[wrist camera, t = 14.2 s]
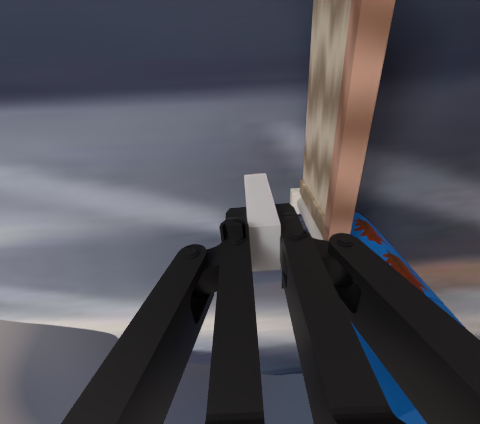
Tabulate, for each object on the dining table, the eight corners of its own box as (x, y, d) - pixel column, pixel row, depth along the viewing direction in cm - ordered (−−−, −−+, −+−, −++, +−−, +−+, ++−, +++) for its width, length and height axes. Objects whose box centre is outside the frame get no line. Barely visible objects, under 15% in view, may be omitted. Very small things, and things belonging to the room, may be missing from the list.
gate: (311, -41, 22) (382, -147, 11) (333, -43, 22) (424, -153, 11) (299, 192, 34) (327, 246, 23) (313, 191, 34) (347, 245, 23)
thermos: (380, 213, 38) (572, 399, 16) (352, 262, 43) (468, 451, 22) (316, 203, 37) (430, 388, 15) (296, 255, 42) (358, 446, 20)
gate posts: (299, -104, 21) (421, -447, 7) (344, -109, 21) (559, -469, 7) (289, 211, 37) (320, 292, 24) (315, 209, 37) (360, 290, 23)
